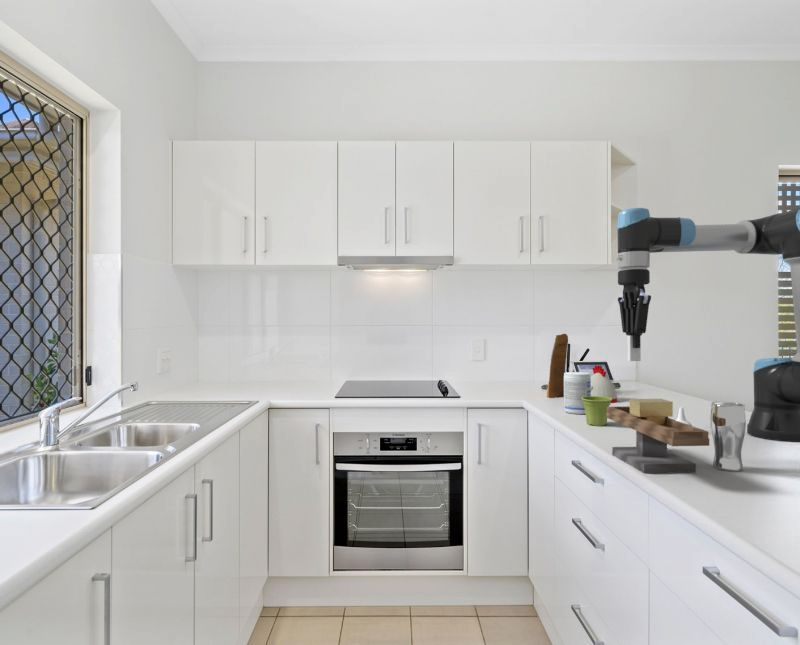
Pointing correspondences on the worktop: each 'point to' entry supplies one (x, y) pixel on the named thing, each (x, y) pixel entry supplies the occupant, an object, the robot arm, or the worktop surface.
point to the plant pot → (596, 409)
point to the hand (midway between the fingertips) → (634, 360)
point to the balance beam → (656, 442)
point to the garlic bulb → (682, 416)
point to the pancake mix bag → (557, 367)
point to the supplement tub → (576, 391)
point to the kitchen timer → (602, 384)
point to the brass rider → (652, 409)
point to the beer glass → (728, 434)
